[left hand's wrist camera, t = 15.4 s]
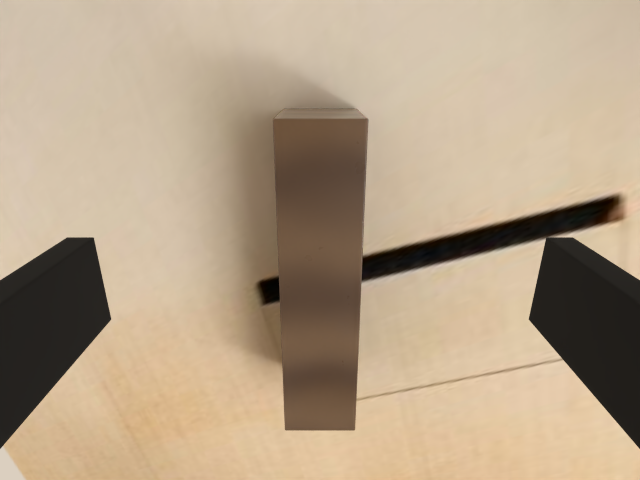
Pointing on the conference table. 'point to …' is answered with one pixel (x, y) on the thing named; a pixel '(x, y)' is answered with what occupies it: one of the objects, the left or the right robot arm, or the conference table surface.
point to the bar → (320, 261)
